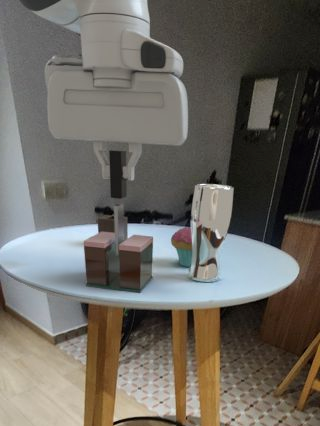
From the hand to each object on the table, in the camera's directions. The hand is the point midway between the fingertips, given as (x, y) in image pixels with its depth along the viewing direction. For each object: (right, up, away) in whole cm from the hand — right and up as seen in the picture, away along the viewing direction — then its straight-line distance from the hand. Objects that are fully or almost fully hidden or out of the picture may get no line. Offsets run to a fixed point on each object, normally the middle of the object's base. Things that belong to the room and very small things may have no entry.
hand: (118, 179), depth 56 cm
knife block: (-5, +4, +31) cm, 31 cm away
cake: (-1, -12, +9) cm, 16 cm away
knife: (0, -9, +6) cm, 11 cm away
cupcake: (+13, -5, +21) cm, 25 cm away
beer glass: (+15, -10, +14) cm, 23 cm away
